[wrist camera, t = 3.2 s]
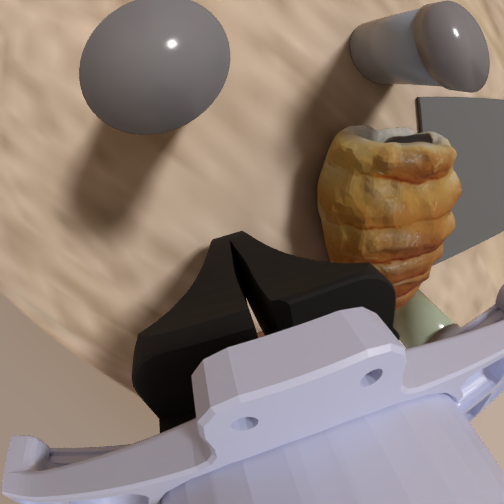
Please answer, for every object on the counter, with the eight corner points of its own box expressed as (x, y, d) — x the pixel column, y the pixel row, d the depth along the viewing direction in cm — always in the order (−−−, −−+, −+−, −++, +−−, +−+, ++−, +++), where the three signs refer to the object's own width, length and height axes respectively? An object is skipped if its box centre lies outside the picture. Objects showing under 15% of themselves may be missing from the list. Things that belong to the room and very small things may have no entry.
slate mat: (502, 229, 17) (504, 230, 17) (416, 270, 16) (418, 271, 16) (510, 100, 12) (512, 101, 12) (417, 97, 11) (419, 97, 11)
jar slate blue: (409, 85, 11) (493, 94, 7) (355, 87, 11) (440, 91, 6) (398, 23, 9) (480, 11, 5) (340, 18, 9) (420, -8, 5)
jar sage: (416, 313, 18) (459, 360, 14) (378, 331, 18) (419, 385, 14) (422, 276, 17) (473, 323, 12) (382, 293, 16) (432, 349, 12)
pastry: (413, 281, 16) (450, 319, 13) (312, 310, 16) (339, 362, 12) (428, 122, 12) (486, 137, 8) (302, 126, 11) (347, 138, 8)
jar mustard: (218, 109, 10) (244, 111, 6) (134, 134, 10) (100, 155, 6) (199, 32, 9) (213, -19, 4) (114, 57, 8) (68, 26, 4)
